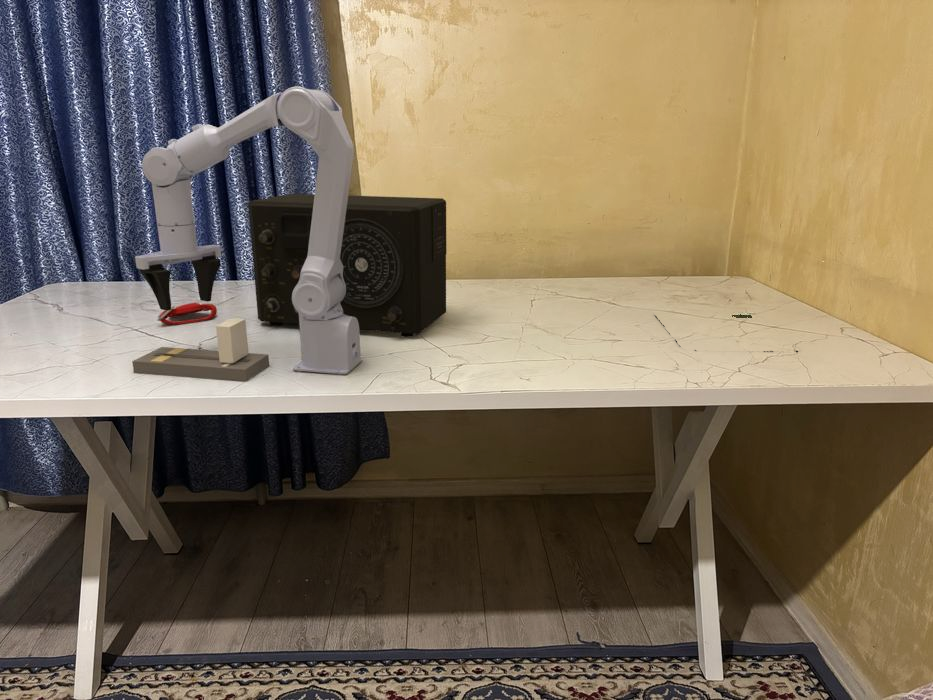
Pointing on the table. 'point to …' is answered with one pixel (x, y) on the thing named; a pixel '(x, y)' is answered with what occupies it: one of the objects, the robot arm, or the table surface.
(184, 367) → the fader console
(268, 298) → the vintage radio
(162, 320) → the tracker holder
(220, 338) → the fader tab
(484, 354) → the table surface
